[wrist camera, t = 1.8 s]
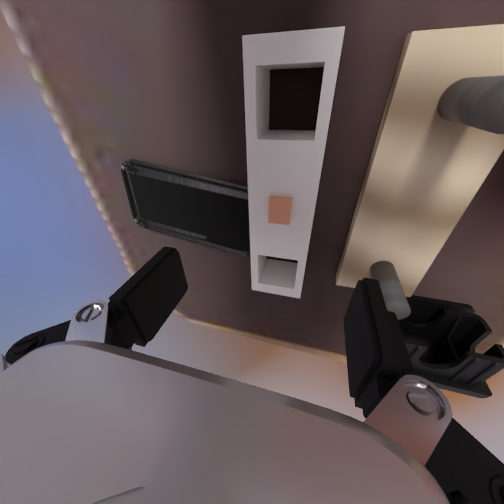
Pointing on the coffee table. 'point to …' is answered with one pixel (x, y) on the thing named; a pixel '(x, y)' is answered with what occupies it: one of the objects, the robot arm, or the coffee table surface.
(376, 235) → the board
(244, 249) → the phone
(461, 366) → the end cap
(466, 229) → the coffee table surface
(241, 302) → the coffee table surface
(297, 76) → the coffee table surface
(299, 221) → the white long block
